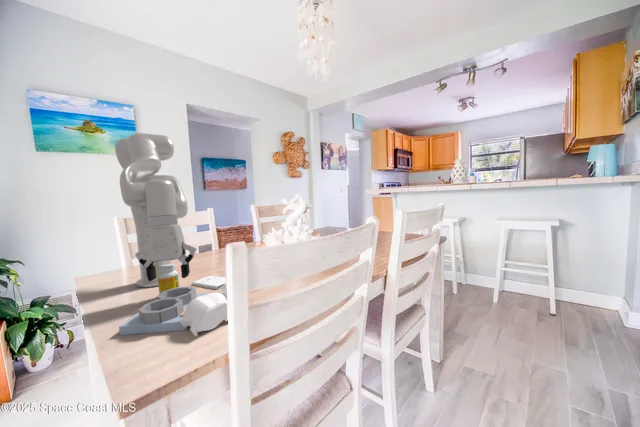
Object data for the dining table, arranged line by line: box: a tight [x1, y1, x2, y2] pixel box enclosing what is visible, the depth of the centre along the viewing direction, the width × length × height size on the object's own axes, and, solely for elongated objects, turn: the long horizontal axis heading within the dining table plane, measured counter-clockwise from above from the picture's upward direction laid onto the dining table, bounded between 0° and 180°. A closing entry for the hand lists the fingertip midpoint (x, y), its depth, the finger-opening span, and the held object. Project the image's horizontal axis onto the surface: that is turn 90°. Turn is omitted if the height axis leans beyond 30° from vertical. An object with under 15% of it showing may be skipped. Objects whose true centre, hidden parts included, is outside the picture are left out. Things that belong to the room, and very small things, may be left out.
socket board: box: [118, 286, 210, 336], centre depth 67 cm, size 17×14×4 cm
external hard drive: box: [191, 275, 227, 290], centre depth 92 cm, size 2×8×12 cm
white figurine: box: [179, 283, 228, 338], centre depth 63 cm, size 9×8×15 cm
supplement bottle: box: [158, 263, 180, 295], centre depth 81 cm, size 5×5×10 cm
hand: (169, 278), depth 80 cm, fingers open, 9 cm apart
